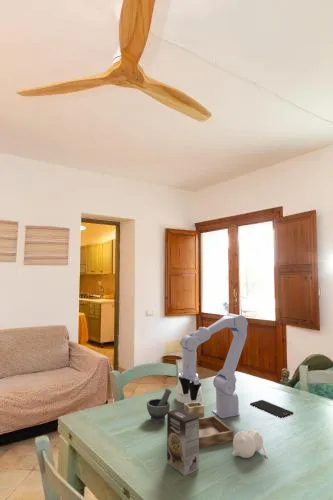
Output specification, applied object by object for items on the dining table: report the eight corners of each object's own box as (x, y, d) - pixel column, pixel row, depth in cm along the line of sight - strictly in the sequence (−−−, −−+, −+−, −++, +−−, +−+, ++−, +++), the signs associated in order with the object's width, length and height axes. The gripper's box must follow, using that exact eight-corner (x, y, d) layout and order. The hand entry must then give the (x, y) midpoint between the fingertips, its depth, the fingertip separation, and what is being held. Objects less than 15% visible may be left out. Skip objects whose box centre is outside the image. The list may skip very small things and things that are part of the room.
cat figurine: (256, 419, 116) (234, 427, 109) (278, 446, 108) (257, 457, 101) (245, 436, 119) (223, 445, 111) (266, 463, 111) (244, 475, 104)
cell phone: (281, 419, 139) (281, 417, 139) (249, 405, 154) (249, 403, 154) (294, 414, 144) (293, 412, 144) (262, 401, 159) (261, 399, 159)
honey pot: (171, 400, 159) (171, 362, 161) (183, 392, 170) (183, 357, 172) (194, 405, 152) (194, 366, 154) (206, 397, 163) (205, 360, 165)
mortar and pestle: (152, 426, 131) (153, 395, 132) (142, 417, 139) (143, 389, 140) (176, 420, 136) (176, 391, 137) (165, 412, 144) (165, 385, 145)
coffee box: (166, 463, 105) (166, 411, 106) (181, 456, 109) (181, 406, 110) (184, 476, 98) (184, 421, 99) (199, 469, 102) (199, 415, 103)
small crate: (198, 415, 142) (198, 401, 142) (204, 420, 137) (204, 405, 137) (184, 418, 139) (184, 403, 140) (189, 422, 134) (189, 408, 135)
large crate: (214, 424, 133) (214, 415, 133) (234, 441, 119) (233, 431, 120) (181, 430, 127) (181, 421, 128) (198, 448, 114) (198, 438, 114)
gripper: (174, 361, 144) (174, 392, 143) (188, 369, 131) (188, 404, 130) (188, 359, 147) (188, 390, 146) (203, 367, 134) (203, 401, 132)
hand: (189, 396), depth 138 cm, fingers open, 7 cm apart
